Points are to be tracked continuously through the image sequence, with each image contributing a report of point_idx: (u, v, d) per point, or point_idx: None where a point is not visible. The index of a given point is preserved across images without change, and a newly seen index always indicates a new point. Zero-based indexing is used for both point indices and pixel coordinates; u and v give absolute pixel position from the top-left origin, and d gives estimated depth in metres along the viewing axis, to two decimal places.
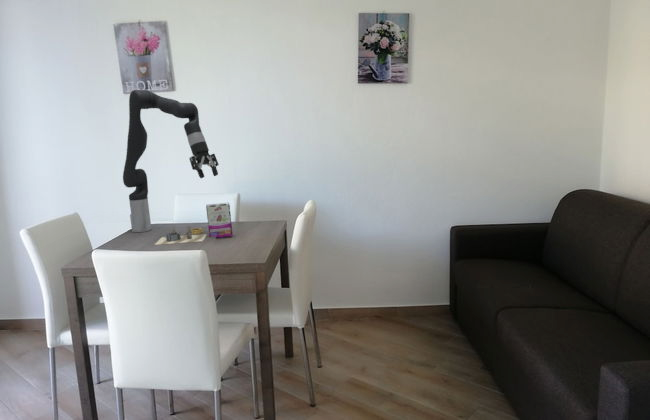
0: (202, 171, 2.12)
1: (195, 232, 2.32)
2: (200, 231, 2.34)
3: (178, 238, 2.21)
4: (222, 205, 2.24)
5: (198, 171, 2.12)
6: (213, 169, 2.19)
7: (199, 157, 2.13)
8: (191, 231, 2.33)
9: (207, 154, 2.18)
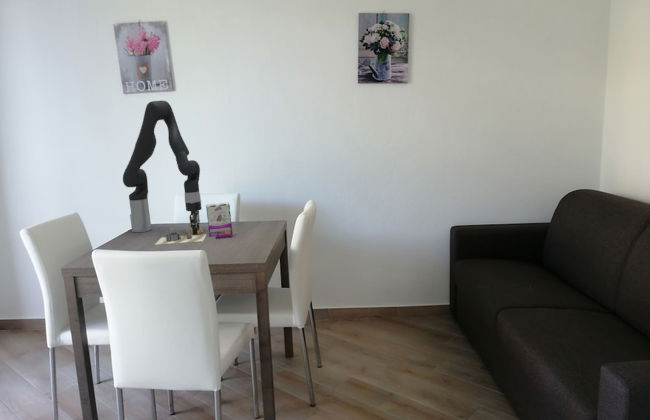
0: None
1: None
2: (200, 231, 2.34)
3: (178, 238, 2.21)
4: (222, 205, 2.24)
5: (193, 229, 2.30)
6: (196, 226, 2.38)
7: (195, 215, 2.31)
8: (191, 231, 2.33)
9: (197, 211, 2.36)
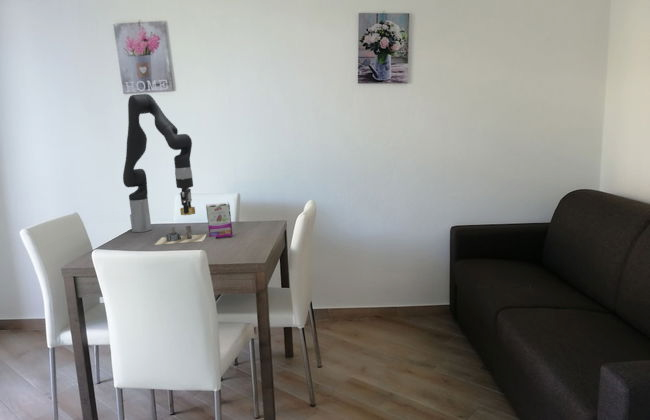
0: (188, 207, 2.18)
1: None
2: (192, 210, 2.20)
3: (178, 238, 2.21)
4: (222, 205, 2.24)
5: (185, 207, 2.16)
6: (188, 204, 2.24)
7: (186, 193, 2.17)
8: (182, 209, 2.19)
9: (188, 188, 2.22)
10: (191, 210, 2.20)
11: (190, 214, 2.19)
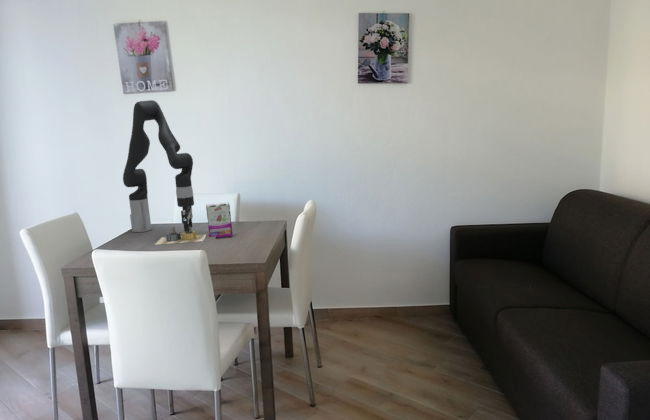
0: (188, 225, 2.18)
1: (188, 235, 2.20)
2: (193, 234, 2.22)
3: (178, 238, 2.21)
4: (222, 205, 2.24)
5: (185, 225, 2.17)
6: (189, 221, 2.26)
7: (187, 211, 2.18)
8: (184, 234, 2.21)
9: (189, 207, 2.23)
10: (192, 235, 2.21)
11: (191, 239, 2.20)
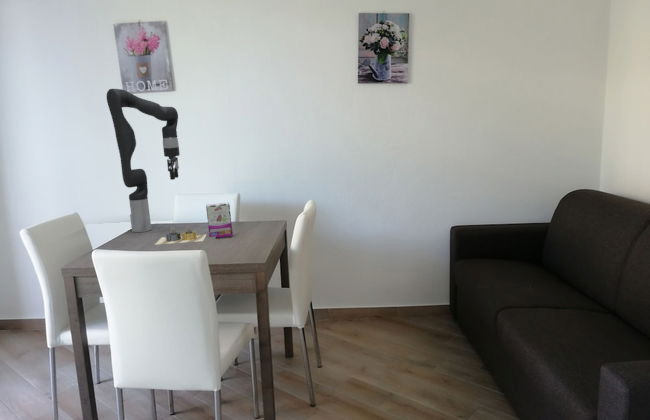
0: (174, 174, 2.35)
1: (188, 235, 2.20)
2: (193, 234, 2.22)
3: (178, 238, 2.21)
4: (222, 205, 2.24)
5: (171, 173, 2.34)
6: (175, 171, 2.43)
7: (173, 160, 2.35)
8: (184, 234, 2.21)
9: (175, 158, 2.40)
10: (192, 235, 2.21)
11: (191, 239, 2.20)
